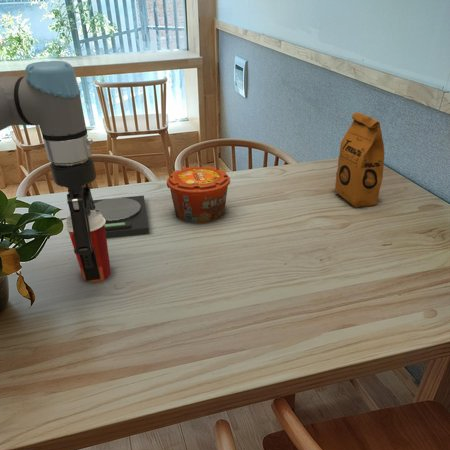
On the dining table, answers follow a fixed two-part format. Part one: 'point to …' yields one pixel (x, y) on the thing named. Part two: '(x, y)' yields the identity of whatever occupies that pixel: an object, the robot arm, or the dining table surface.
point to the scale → (123, 216)
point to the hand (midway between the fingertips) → (94, 261)
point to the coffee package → (361, 162)
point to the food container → (199, 193)
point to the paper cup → (94, 243)
